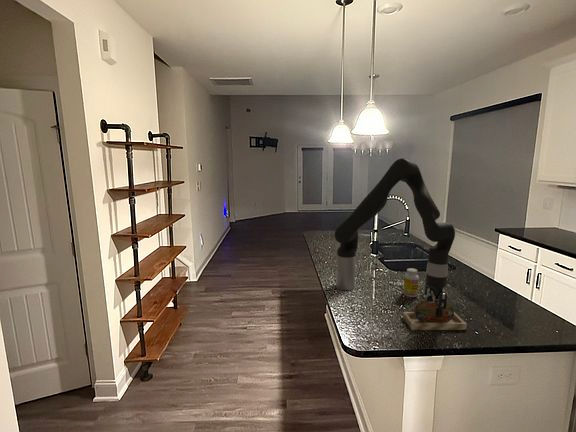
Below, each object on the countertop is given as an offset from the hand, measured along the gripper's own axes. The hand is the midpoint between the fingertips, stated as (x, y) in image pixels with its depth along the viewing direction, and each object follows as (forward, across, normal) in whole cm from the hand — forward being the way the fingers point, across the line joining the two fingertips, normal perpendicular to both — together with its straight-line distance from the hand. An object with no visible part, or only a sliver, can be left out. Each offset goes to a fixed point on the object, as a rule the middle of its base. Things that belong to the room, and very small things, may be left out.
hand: (433, 311), depth 129 cm
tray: (+5, 0, 0) cm, 5 cm away
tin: (+5, 0, 0) cm, 5 cm away
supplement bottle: (+5, +28, -1) cm, 29 cm away
